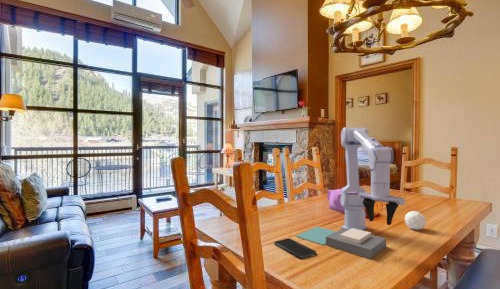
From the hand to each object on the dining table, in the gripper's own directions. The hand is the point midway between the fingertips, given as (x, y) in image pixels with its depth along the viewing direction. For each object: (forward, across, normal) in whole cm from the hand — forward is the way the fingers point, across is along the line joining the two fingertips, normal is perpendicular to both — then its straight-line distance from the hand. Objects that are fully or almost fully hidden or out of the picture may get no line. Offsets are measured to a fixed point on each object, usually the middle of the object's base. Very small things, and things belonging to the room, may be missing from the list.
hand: (380, 222), depth 88 cm
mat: (+10, -23, 0) cm, 25 cm away
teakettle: (+11, -34, +46) cm, 58 cm away
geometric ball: (+11, +2, +36) cm, 38 cm away
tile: (+7, -8, 0) cm, 11 cm away
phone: (+11, -22, -18) cm, 31 cm away
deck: (+10, -8, 0) cm, 13 cm away
